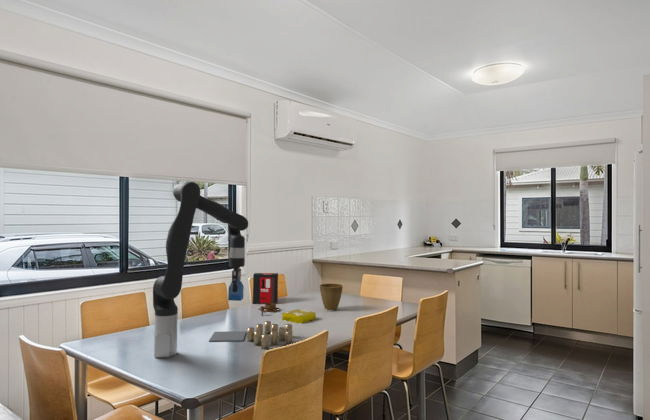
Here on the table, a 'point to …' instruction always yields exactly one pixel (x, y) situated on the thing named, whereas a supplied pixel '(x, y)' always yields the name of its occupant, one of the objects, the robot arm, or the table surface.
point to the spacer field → (273, 333)
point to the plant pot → (331, 295)
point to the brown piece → (269, 308)
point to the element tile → (298, 316)
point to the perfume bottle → (236, 295)
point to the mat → (228, 336)
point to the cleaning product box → (265, 288)
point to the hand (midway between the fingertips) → (235, 290)
